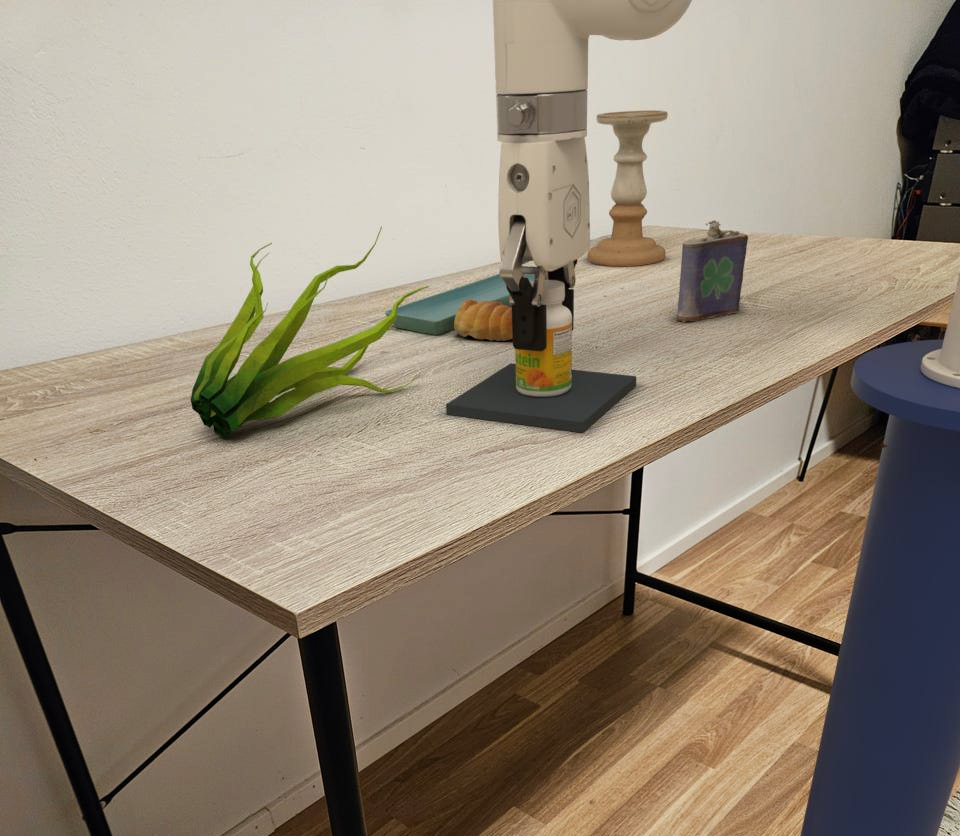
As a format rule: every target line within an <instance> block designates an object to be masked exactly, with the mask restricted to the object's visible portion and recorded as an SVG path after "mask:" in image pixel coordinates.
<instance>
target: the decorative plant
mask: <svg viewBox="0 0 960 836" xmlns="http://www.w3.org/2000/svg"><path fill="white" fill-rule="evenodd" d="M382 229H383V227H382V226H380V228H379V231H378V233H377V236H376V238H375V242H374V243H373V245H372V246H371V248H370V249H369V250H368V252H367V253H366V254H365V256H363V258H362V259H361V260H359V261H358V262H356V263H354V264H344V265H335V266H333V267H331V268H329V269H327V270H325V271H323V272H321V273H319V274H317V275H315V276H314V277H313V279H312V280H311V281H310V283H309V284H308V285H307V286H306V287H305V289H304V290H303V292H302V293H301V294H300V295H299V296H298V298H297V299H296V300H295V302H294V303H293V305H291V308H290V309H289V311H288V313H287V314H286V315H285V316H284V317H283V319H281V320H280V322H278V323H277V325H276V326H275V327H274V328H273V329H272V330H271V331H270V332H269V334H268V335H267V336H266V337H265V338H263V340H261V341H260V343H259V344H257V345H256V347H254V348H253V350H252V351H251V353H250V354H249V355H248V357H247V358H246V359H245V361H243V363H242V364H241V365H240V367H239V368H238V370H237V373H235V374H234V375H233V376H231V377H230V375H231V374H232V372H233V370H234V369H235V367H236V366H237V363H238V361H239V360H240V356H241V353H242V350H243V348H244V346H245V344H246V343H247V342H248V341H249V340H251V338H252V336H253V334H254V333H255V331H256V329H257V328H258V327H259V325H260V324H261V322H262V321H263V319H264V313H265V312H266V311H267V308H268V305H269V302H267V303H266V306H265V308H263V303H262V295H263V293H264V285H263V282H262V278H261V273H260V271H259V270H258V268H259V266H260V264H261V262H262V261H263V260H264V259H265V258H266V257H267V256H268V255H269V254H270V252H268V253H266V255H264V256H263V257H262V258H261V259H260V260H259V261H258V263H257V264H256V265H255V264H254V258H255V257H256V256H257V255H258V254H259V252H260V251H261V250H263V249H265V248H267V247H269V246H271V245H273V243H272V242H270V243H268V244H266V245H264V246H262V247H261V248H259V249H257V251H255V252H254V253H253V254H252V255H251V256H250V260H249V267H250V268H251V271H252V277H251V283H252V287H251V289H250V291H249V293H248V294H247V297H246V298H245V300H244V302H243V304H242V306H241V308H240V309H239V311H238V313H237V314H236V316H235V318H234V319H233V322H232V323H231V325H230V326H229V327H228V330H227V331H226V333H225V334H224V336H223V337H222V339H221V340H220V342H219V344H218V345H217V346H216V347H215V348H214V349H213V350H212V351H210V353H208V354H207V355H206V356H205V358H204V360H203V363H202V364H201V367H200V370H199V372H198V375H197V376H196V379H195V382H194V384H193V387H192V391H191V396H190V404H191V409H192V410H193V411H194V412H195V413H197V414H198V415H199V418H200V420H201V421H202V424H203V426H206V427H208V428H211V427H212V428H213V432H214V434H216V435H217V436H219V437H220V438H222V439H223V440H226V439H227V438H228V437H230V436H231V435H233V433H235V432H236V431H237V430H238V429H239V428H241V427H242V426H244V424H245V423H247V422H251V421H258V420H259V421H260V420H267V419H276V418H279V417H281V416H283V415H284V414H286V413H287V412H288V411H291V410H292V409H293V408H295V407H296V406H297V405H299V404H301V403H302V402H304V401H305V400H307V399H309V398H310V397H312V396H314V395H315V394H318V393H321V392H323V391H327V390H329V389H333V388H336V387H338V386H355V387H364V388H367V389H370V390H373V391H375V392H378V393H394V392H396V391H398V390H401V389H402V388H404V387H407V386H409V385H410V384H411V383H413V382H414V381H415V380H416V379H418V378H419V377H420V376H421V374H419V375H418V376H416V377H415V378H413V379H412V380H411V381H409V382H408V383H407V384H404V385H402V386H399V387H396V388H393V389H385V388H381V387H378V385H375V384H373V383H371V382H370V381H368V380H366V379H362V378H357V377H354V376H348V374H349V373H350V372H351V370H352V369H353V368H354V367H355V366H356V365H357V364H358V362H360V360H361V359H362V358H363V356H364V354H365V352H366V351H367V350H368V348H369V346H370V345H371V344H374V343H375V342H378V341H379V340H381V339H382V338H383V336H384V335H385V334H386V333H387V332H388V331H391V330H392V331H395V332H399V333H402V330H400V329H396V328H392V326H393V323H394V322H395V321H396V319H397V309H398V307H399V306H401V304H402V303H403V302H404V301H405V300H406V298H408V297H410V296H412V295H415V294H416V293H418V292H419V291H422V290H425V289H428V288H429V287H430V286H429V285H427V286H423V287H420V288H417V289H415V290H411V291H410V292H406V293H404V295H402V296H401V297H400V298H399V299H398V300H397V301H396V302H394V303H393V307H392V308H391V309H392V312H391V315H389V316H388V317H387V316H386V317H385V318H383V319H382V320H381V321H379V322H378V323H376V324H375V325H373V326H372V327H370V328H367V329H365V330H363V331H360V332H358V333H355V334H352V335H350V336H347V337H346V338H343V339H340V340H338V341H335V342H333V343H330V344H327V345H324V346H321V347H318V348H315V349H312V350H309V351H307V352H304V353H301V354H297V355H295V356H292V357H290V358H288V359H285V360H283V361H282V362H281V360H282V358H283V357H284V355H285V354H286V352H287V350H288V349H289V348H290V346H291V344H292V343H293V341H294V339H295V337H296V336H297V334H298V333H299V332H300V329H301V328H302V326H303V325H304V323H305V321H306V319H307V317H308V314H309V312H310V310H311V307H312V306H313V303H314V300H315V298H316V297H317V296H318V295H319V294H320V293H321V292H322V291H323V290H325V288H326V285H327V283H328V281H329V279H331V278H332V277H334V276H336V275H338V274H339V273H343V272H347V271H351V270H356V269H357V268H359V267H360V266H361V265H362V264H363V263H365V261H366V260H367V258H368V257H369V255H370V254H371V252H372V251H373V249H374V248H375V246H376V245H377V242H378V239H379V237H380V234H381V231H382ZM322 283H324V285H323V287H322V288H320V289H319V287H320V286H321V284H322ZM263 309H264V310H263ZM354 353H355V354H354ZM353 354H354V355H353ZM350 355H353V356H352V357H351V358H350V359H348V361H347V362H345V363H344V365H342V366H341V367H335V366H331V365H333V364H335V363H337V362H339V361H342V360H343V359H345V358H346V357H349V356H350ZM229 377H230V378H229ZM275 397H276V398H275Z"/></svg>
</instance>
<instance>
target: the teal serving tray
mask: <svg viewBox="0 0 960 836" xmlns="http://www.w3.org/2000/svg"><path fill="white" fill-rule="evenodd" d="M523 277H524V278H528V279H529V281H534V276H532V275H523ZM469 299H471V300H475V301H477V302H484V301H490V302H501V303H502V304H503V305H506V306H509V307H512V305H510V303H509V292H508V290H507V287H506V284H505V283H504V281H503V280H502V278H501V277H500V273H498V274H493V275H491V276H488V277H485V278H482V279H479V280H476V281H473V282H470V283H468V284H465V285H461V286H459V287H455V288H452V289H448V290H446V291H443V292H439V293H436V294H434V295H433V294H432V295H430V296H427V297H424V298H420V299H418V300H415V301H411V302H408V303H405V304H403V305H399V306H398V309H397V319H396V321H395V322H394V323H393V324H392V326H394V328H395V329H402V330H407V331H413V332H417V333H422V334H428V335H433V336H438V335H439V336H440V335H442V334H445V333H447V332H451V331H453V330H455V329H454V321H455V316H456V313H457V310H458V308H459V307H460V306H461V304H462V303H463V302H464V301H466V300H469ZM392 309H393V308H391V309H388V310H385V311H384V314H385V316H386V317H388V316H389V315H391V312H392Z"/></svg>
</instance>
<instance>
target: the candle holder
mask: <svg viewBox="0 0 960 836" xmlns="http://www.w3.org/2000/svg"><path fill="white" fill-rule="evenodd" d="M668 116H669V115H668V111H666V110H660V109H659V110H657V109H654V110H651V109H650V110H645V109H644V110H625V111H612V112H611V111H610V112H602V113H598V114H596V117H595V121H596V123H598V124H599V125H605V126H607V125H609V126H611V127H612V131H613V134H614V135H615V137H617V140H618V150H617V152H616V153H615V154H614V155H613V161H614V162H615V163H616V164H617V165H616V171H615V177H614V181H613V183H612V186H611V189H610V190H611V191H610V197H611V200H612V201H613V202H614V203H615V204H614V205H612V207H611V208H610V209H609V211H608V215H609V217H610V218H611V220H612V221H613V223H612V229H611V237H608V238H604V239H602V240H600V241H599V242H598V243H597V245H596V246H593V247H591V248H590V249H588V250H587V259H588V260H587V261H589V262H590V263H593V264H595V265H600V266H610V267H636V266H645V265H651V264H656V263H659V262H661V261H663V260H664V259H665V257H666V255H667V254H666V253H667V252H666V248H665V247H664V246H662V245H661V244H657V243H656V240H655V239H653V238H652V237H646V236H644V234H643V219H644V218H645V216H647V214H648V210H647V208H646V207H645V205H644V204H642V202H643V201H644V200H645V199H646V197H647V193H648V190H647V185H646V181H645V177H644V167H643V166H644V165H643V163H644V162H645V161H646V160H647V158H648V155H647V153H645V151H644V149H643V141H644V138H645V136H646V135H647V134H648V133H649V131H650V128H651V126H652V124H655V123H660V122H664V121H666V120H667V119H668Z"/></svg>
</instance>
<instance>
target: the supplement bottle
mask: <svg viewBox="0 0 960 836" xmlns="http://www.w3.org/2000/svg"><path fill="white" fill-rule="evenodd" d="M533 282H534V281H530V283H531V285H532V287H533ZM564 297H565V285H564V283H563V282H561V281H556V280H545V281H544V290H543V298H542V304H543V305H546V320H547V347H546V349H545V350H543V351H531V350H520V349H515V348H514V354H515V355H514V357H515V360H514V361H515V364H516V388H517V390H518V392H519V393H521V394H523V395H526V396H531V397H554V396H558V395H562V394H564V393H566V392H567V391H569V390H570V388H571V382H572V370H573V364H572V363H573V331H572V314H571V312H570V310H569V309H568V308H567V307H565V306H563V305H562V301H564Z"/></svg>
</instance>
